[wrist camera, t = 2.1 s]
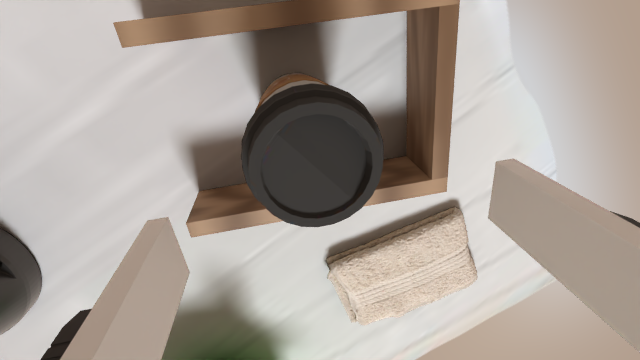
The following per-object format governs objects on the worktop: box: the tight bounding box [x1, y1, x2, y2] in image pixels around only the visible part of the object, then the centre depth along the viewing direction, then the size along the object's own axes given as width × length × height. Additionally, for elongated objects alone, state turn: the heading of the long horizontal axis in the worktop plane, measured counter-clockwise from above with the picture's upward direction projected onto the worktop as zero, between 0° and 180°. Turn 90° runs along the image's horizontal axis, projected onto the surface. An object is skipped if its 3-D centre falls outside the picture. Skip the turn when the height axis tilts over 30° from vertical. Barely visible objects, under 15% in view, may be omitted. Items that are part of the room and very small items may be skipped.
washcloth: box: [326, 207, 477, 325], centre depth 40 cm, size 12×18×3 cm, turn 112°
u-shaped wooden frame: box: [113, 0, 460, 237], centre depth 28 cm, size 24×17×6 cm
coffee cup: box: [241, 73, 384, 227], centre depth 24 cm, size 8×8×15 cm
